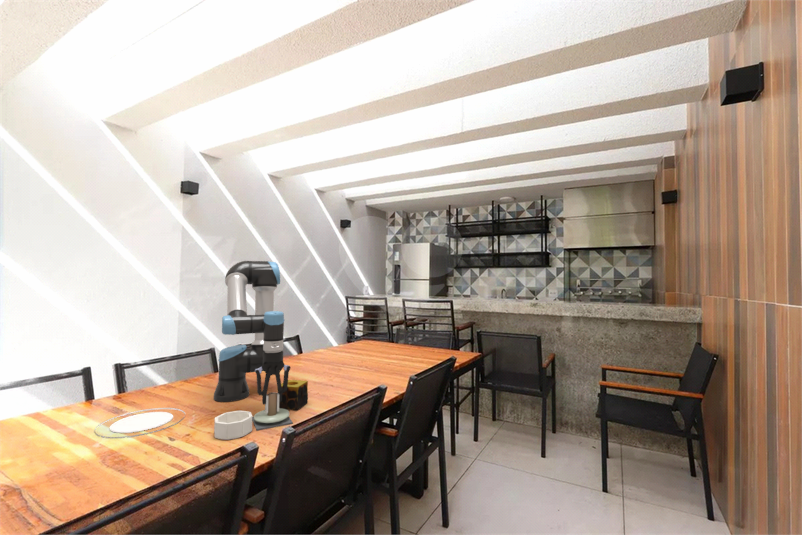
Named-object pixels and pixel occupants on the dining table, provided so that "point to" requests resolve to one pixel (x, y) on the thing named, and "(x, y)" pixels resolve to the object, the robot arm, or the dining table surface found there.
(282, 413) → the lid
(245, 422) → the bowl
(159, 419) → the plate
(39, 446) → the dining table surface
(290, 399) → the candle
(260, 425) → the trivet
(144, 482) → the dining table surface
